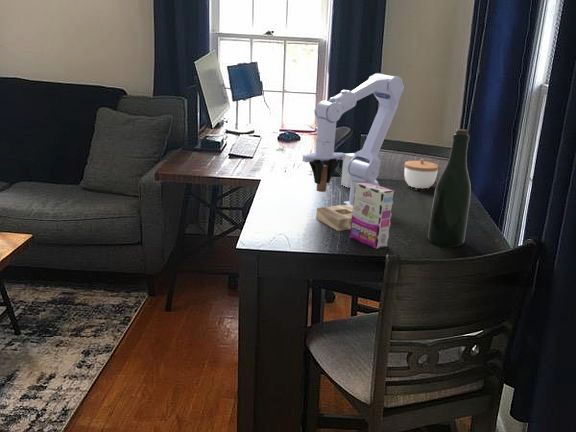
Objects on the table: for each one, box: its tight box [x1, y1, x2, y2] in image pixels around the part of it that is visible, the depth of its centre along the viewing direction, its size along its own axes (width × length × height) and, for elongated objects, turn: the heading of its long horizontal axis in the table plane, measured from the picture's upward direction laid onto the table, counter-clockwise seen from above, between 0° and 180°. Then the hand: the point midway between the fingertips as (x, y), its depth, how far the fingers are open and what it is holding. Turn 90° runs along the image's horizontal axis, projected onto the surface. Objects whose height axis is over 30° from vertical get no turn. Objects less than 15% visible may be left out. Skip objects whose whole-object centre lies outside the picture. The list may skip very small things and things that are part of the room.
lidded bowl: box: [403, 158, 440, 189], centre depth 241 cm, size 13×13×11 cm
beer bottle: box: [427, 128, 472, 248], centre depth 180 cm, size 10×10×33 cm
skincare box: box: [340, 152, 356, 189], centre depth 237 cm, size 6×4×12 cm
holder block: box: [315, 204, 353, 232], centre depth 196 cm, size 12×12×4 cm
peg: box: [316, 165, 328, 193], centre depth 201 cm, size 3×3×8 cm
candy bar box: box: [349, 182, 395, 250], centre depth 178 cm, size 11×5×16 cm, turn 37°
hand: (322, 182), depth 201 cm, fingers closed on peg, 3 cm apart
